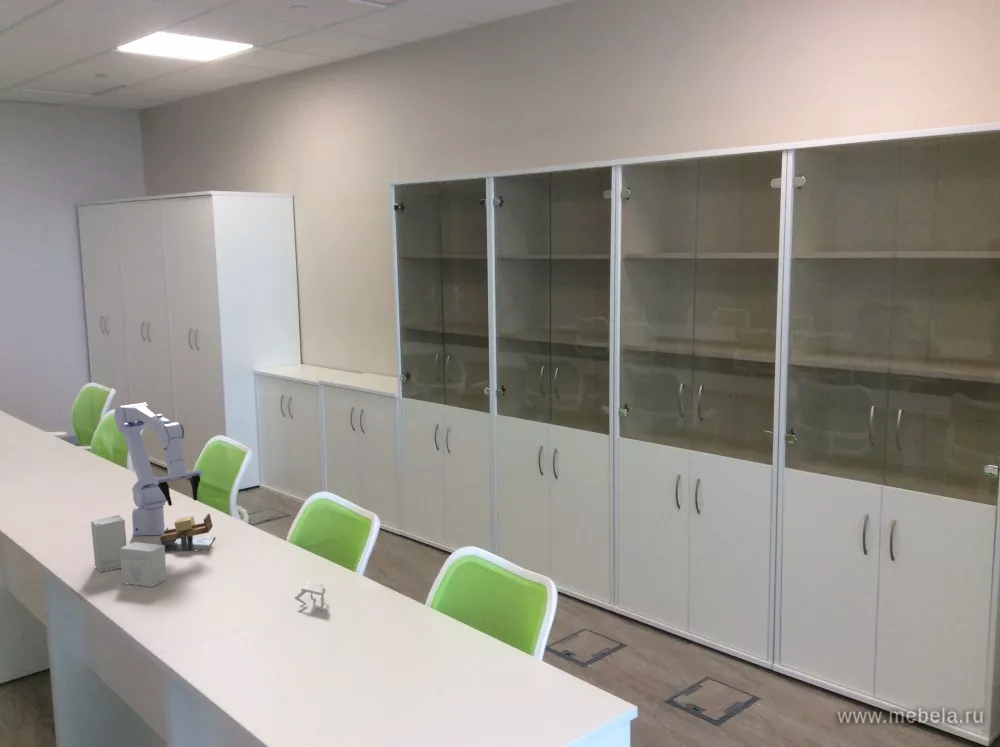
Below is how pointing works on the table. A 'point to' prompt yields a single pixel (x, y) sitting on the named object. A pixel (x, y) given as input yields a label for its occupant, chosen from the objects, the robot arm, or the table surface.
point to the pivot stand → (189, 544)
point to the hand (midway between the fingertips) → (182, 502)
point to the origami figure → (312, 592)
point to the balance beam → (200, 528)
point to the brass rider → (185, 524)
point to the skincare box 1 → (108, 542)
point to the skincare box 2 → (143, 564)
